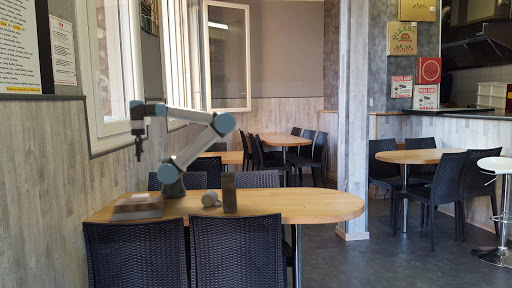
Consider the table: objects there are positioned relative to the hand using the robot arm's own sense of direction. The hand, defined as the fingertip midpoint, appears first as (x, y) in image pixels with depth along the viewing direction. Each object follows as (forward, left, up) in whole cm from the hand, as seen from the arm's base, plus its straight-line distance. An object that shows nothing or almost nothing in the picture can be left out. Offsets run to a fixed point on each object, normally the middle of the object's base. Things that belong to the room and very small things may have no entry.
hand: (140, 166), depth 202 cm
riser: (0, +12, -21) cm, 24 cm away
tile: (0, +10, -17) cm, 19 cm away
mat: (0, +27, -21) cm, 34 cm away
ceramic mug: (-37, +19, -21) cm, 47 cm away
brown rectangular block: (-45, +33, -21) cm, 59 cm away
